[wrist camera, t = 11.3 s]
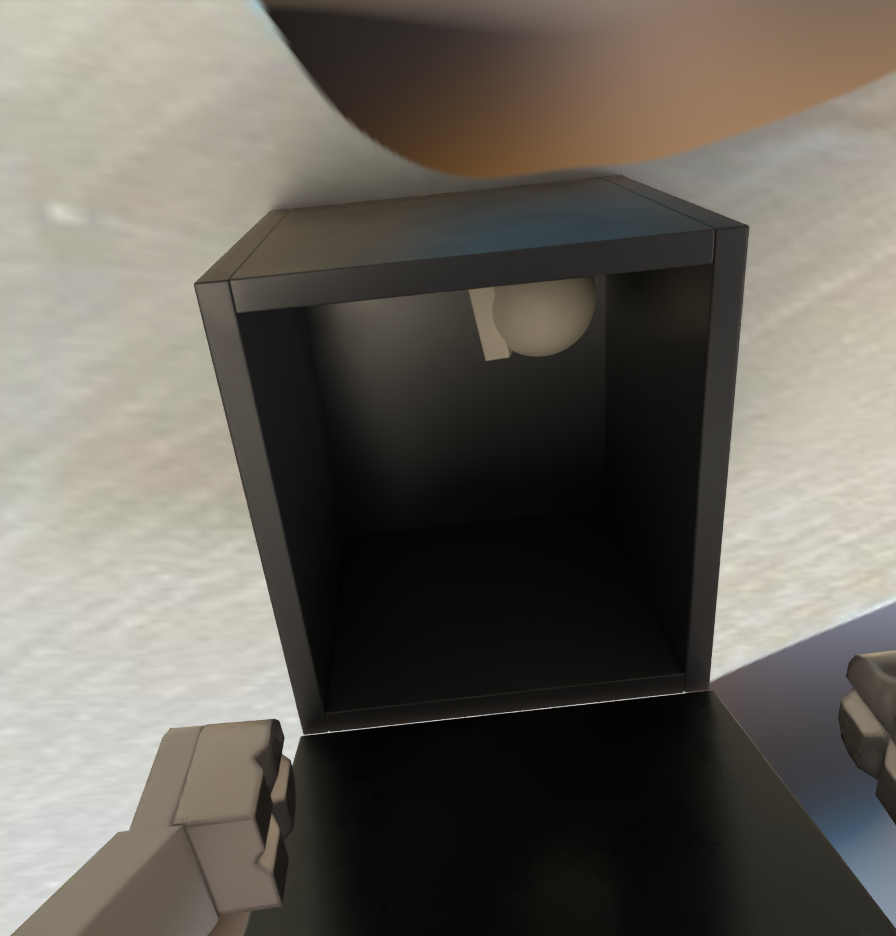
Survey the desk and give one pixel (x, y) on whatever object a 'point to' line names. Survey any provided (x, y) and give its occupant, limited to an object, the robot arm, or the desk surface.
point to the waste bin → (482, 447)
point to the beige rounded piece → (533, 316)
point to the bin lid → (559, 831)
